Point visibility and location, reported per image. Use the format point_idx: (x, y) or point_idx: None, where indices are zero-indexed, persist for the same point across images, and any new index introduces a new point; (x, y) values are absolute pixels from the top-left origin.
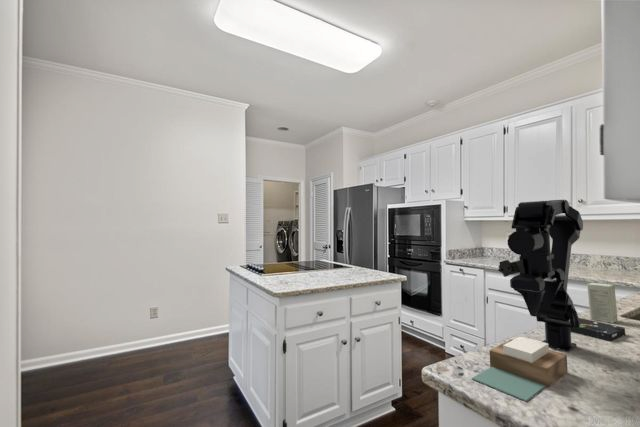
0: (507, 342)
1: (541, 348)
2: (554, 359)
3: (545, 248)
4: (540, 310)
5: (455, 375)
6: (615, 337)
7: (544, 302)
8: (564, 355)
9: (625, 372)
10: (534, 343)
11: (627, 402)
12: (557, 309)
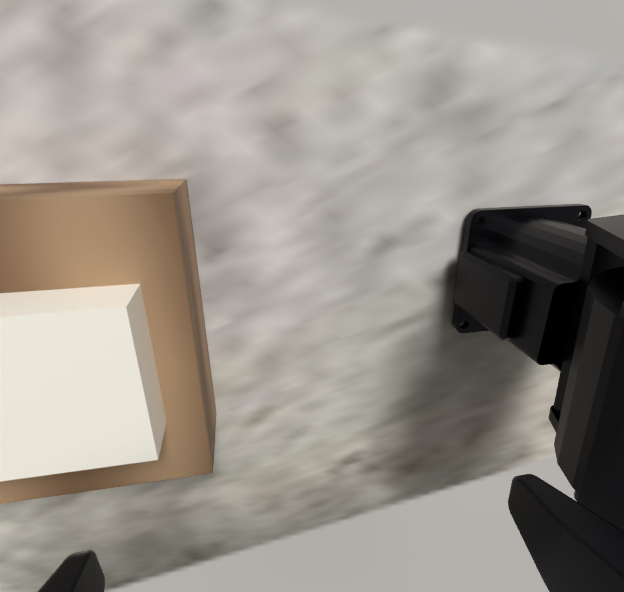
0: (84, 207)
1: (40, 473)
2: (89, 476)
3: None
4: (606, 330)
5: None
6: None
7: (557, 535)
8: (192, 472)
9: (385, 491)
10: (75, 422)
11: (147, 568)
12: (608, 475)
